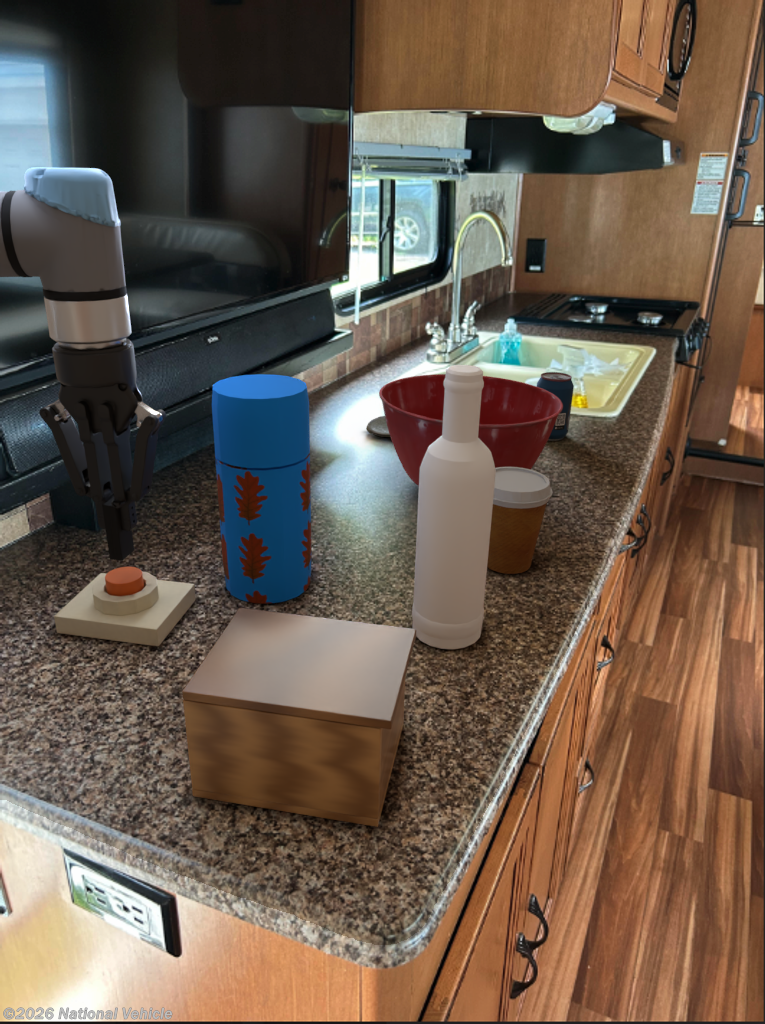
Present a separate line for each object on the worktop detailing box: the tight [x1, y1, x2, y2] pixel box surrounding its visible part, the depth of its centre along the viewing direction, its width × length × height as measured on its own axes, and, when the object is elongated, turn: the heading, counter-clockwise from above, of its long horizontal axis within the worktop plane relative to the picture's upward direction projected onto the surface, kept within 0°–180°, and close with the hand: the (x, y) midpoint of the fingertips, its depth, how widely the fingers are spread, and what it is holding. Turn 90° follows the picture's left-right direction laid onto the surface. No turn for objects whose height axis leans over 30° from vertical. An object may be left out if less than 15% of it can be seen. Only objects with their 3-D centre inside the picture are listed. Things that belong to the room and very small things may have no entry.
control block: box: [53, 571, 197, 647], centre depth 87 cm, size 12×10×4 cm
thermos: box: [211, 373, 313, 605], centre depth 91 cm, size 11×11×25 cm
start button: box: [105, 566, 144, 596], centre depth 86 cm, size 4×4×2 cm
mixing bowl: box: [378, 373, 563, 487], centre depth 122 cm, size 28×28×15 cm
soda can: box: [536, 371, 575, 442], centre depth 148 cm, size 7×7×12 cm
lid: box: [365, 415, 391, 438], centre depth 149 cm, size 11×10×5 cm
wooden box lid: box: [181, 607, 417, 729], centre depth 64 cm, size 16×13×1 cm
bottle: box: [411, 364, 496, 650], centre depth 81 cm, size 8×8×30 cm
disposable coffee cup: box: [487, 467, 553, 575], centre depth 100 cm, size 10×10×12 cm
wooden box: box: [182, 679, 406, 828], centre depth 66 cm, size 16×13×10 cm
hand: (122, 554), depth 85 cm, fingers closed
